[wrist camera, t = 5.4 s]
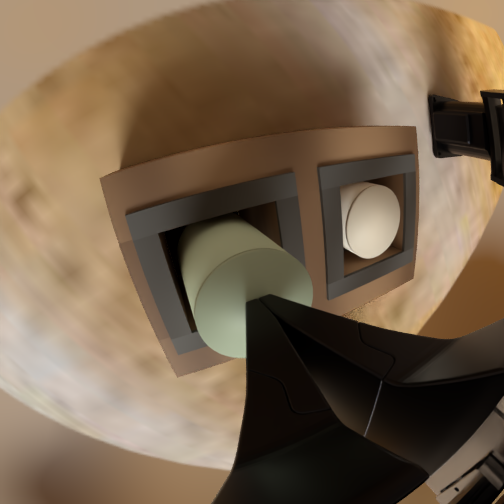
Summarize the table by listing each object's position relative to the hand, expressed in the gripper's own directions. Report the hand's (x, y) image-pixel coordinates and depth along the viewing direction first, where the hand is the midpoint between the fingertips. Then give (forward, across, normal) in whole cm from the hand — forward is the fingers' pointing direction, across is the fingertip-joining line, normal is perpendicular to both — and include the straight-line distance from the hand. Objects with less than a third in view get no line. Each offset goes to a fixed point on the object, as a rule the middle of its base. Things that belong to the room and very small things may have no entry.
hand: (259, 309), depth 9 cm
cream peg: (+9, -8, 0) cm, 12 cm away
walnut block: (+9, -4, 0) cm, 10 cm away
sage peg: (+6, 0, 0) cm, 6 cm away
